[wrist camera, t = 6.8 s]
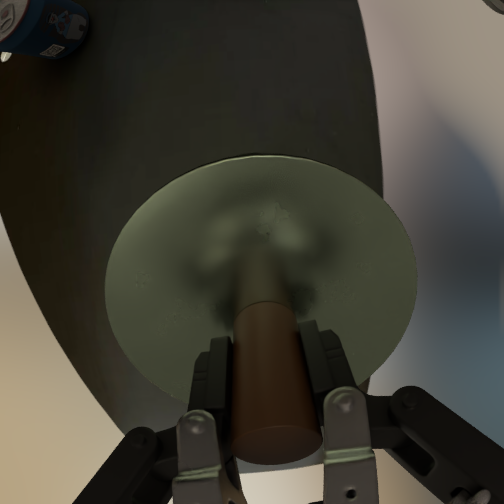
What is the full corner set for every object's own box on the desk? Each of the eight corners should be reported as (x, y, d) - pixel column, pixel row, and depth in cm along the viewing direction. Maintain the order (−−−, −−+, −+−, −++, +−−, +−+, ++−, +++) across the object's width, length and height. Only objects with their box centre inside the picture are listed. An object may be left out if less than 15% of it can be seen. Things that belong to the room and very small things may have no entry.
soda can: (42, 26, 21) (-21, 10, 10) (89, -3, 20) (33, -36, 9) (49, 70, 24) (-20, 65, 13) (98, 42, 23) (36, 19, 12)
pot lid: (404, 128, 10) (538, 163, 4) (395, 373, 17) (434, 463, 10) (67, 202, 11) (-42, 285, 5) (175, 412, 18) (161, 506, 11)
